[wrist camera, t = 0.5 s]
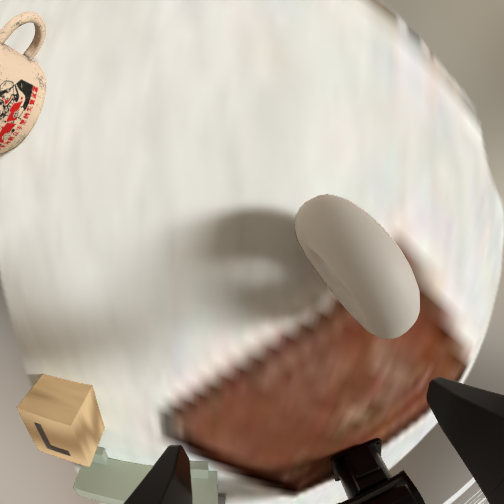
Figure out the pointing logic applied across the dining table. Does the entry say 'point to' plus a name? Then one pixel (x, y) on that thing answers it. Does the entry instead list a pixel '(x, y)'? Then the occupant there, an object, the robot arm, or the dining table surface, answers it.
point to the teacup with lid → (20, 83)
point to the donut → (359, 264)
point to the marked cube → (63, 419)
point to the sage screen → (135, 480)
